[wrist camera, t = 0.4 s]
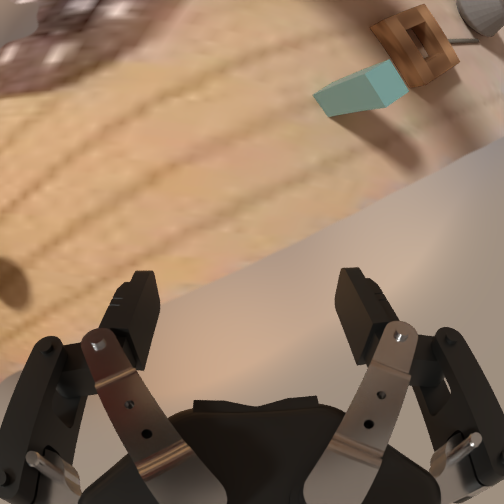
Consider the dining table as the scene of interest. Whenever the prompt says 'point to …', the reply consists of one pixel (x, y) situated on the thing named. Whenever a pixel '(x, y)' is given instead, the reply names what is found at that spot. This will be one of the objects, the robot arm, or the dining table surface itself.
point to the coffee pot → (482, 15)
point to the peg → (362, 90)
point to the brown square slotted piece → (405, 50)
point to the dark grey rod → (463, 40)
